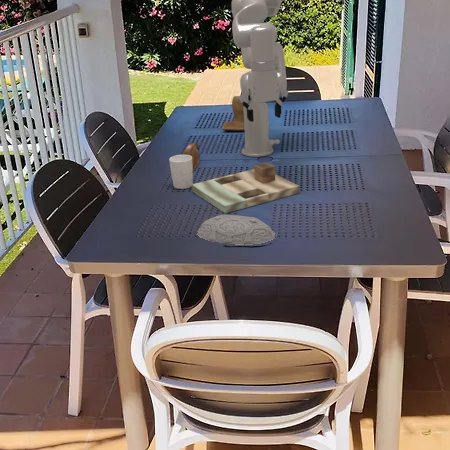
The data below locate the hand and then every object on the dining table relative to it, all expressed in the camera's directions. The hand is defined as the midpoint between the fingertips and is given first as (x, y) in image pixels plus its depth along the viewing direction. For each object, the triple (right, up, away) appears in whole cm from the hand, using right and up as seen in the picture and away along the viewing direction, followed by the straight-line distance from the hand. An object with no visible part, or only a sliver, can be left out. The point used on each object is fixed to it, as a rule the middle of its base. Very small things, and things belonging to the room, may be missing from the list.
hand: (264, 118), depth 200 cm
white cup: (-28, -22, +10) cm, 37 cm away
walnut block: (0, -20, +3) cm, 20 cm away
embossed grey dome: (-10, -39, -28) cm, 49 cm away
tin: (-25, -14, +27) cm, 39 cm away
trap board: (-6, -24, +1) cm, 25 cm away
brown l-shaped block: (-6, +8, +71) cm, 71 cm away
